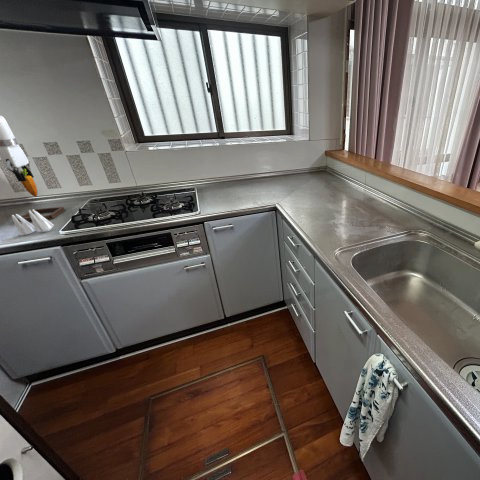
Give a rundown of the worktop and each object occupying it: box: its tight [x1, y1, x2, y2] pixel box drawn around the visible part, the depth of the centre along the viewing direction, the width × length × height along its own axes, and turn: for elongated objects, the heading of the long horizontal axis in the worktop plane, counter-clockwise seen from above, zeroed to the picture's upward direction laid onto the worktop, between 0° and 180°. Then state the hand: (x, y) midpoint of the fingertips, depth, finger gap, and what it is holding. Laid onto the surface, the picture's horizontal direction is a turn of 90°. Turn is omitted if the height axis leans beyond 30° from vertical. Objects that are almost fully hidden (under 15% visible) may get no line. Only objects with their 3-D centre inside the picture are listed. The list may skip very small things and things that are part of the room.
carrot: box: [20, 169, 38, 198], centre depth 140 cm, size 5×5×15 cm
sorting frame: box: [16, 206, 66, 223], centre depth 139 cm, size 14×12×2 cm
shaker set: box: [11, 209, 55, 237], centre depth 122 cm, size 12×4×11 cm, turn 107°
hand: (26, 179), depth 139 cm, fingers closed on carrot, 5 cm apart
